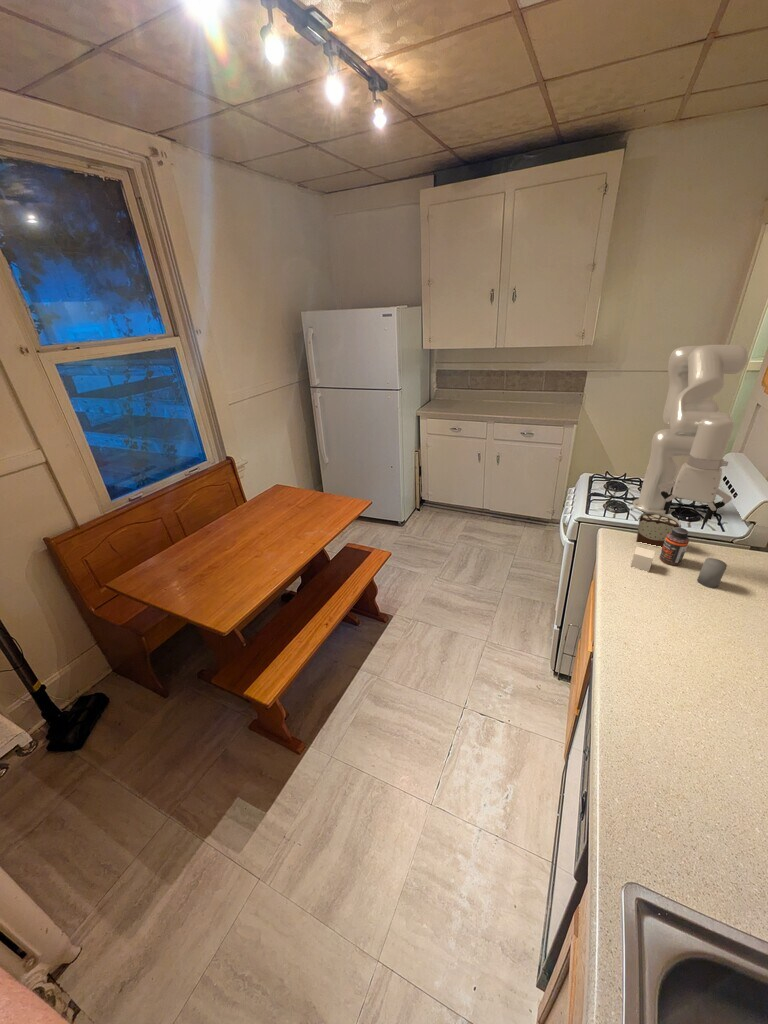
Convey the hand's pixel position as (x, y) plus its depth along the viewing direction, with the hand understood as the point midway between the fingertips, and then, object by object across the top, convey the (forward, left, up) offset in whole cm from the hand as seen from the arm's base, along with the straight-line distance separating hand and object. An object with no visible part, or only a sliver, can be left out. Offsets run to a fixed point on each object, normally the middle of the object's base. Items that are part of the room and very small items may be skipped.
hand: (685, 516), depth 121 cm
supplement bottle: (-1, 0, -16) cm, 16 cm away
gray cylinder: (+6, +10, -16) cm, 20 cm away
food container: (-11, -6, -16) cm, 20 cm away
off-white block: (+7, -7, -16) cm, 19 cm away
